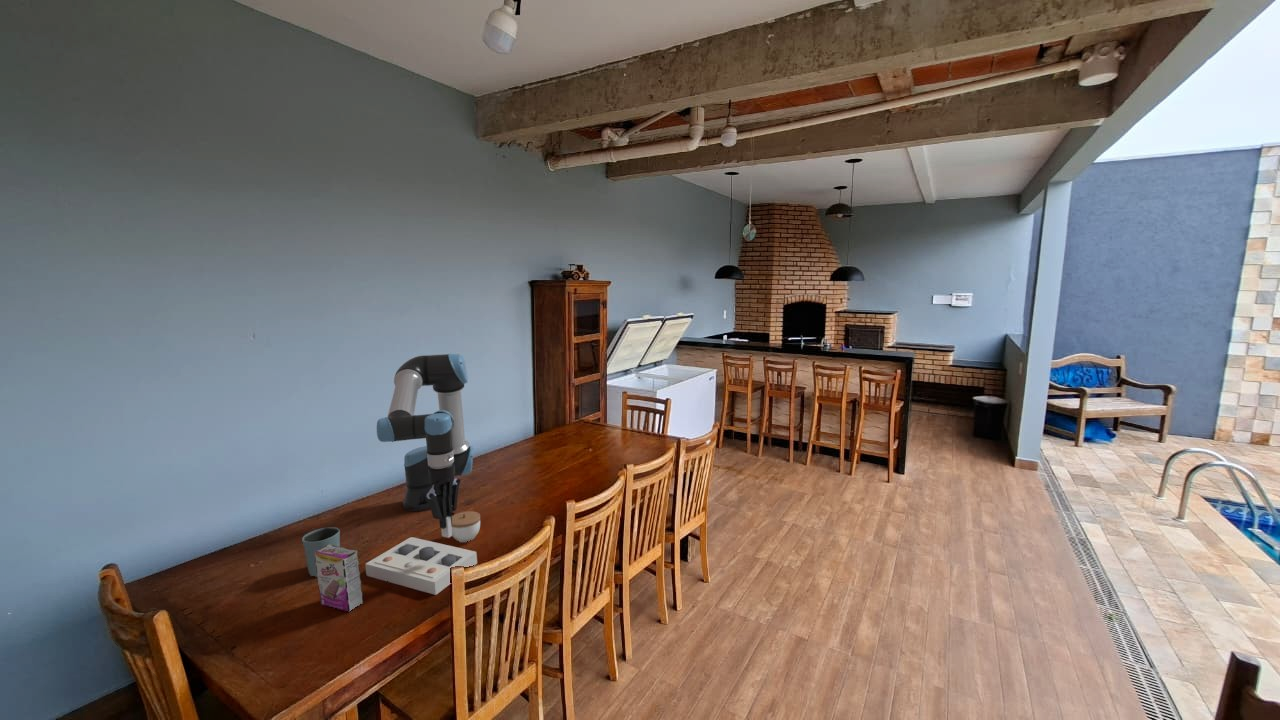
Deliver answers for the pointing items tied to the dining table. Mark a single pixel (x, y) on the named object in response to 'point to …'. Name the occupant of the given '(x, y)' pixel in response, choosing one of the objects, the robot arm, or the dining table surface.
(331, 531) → the grey plant pot
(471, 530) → the lidded jar
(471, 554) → the button board
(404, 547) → the button
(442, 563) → the button
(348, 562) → the candy bar box
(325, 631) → the dining table surface
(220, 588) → the dining table surface
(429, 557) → the button
